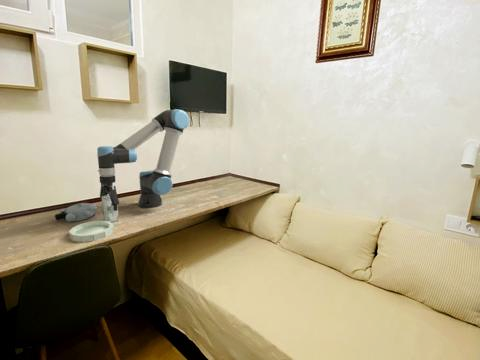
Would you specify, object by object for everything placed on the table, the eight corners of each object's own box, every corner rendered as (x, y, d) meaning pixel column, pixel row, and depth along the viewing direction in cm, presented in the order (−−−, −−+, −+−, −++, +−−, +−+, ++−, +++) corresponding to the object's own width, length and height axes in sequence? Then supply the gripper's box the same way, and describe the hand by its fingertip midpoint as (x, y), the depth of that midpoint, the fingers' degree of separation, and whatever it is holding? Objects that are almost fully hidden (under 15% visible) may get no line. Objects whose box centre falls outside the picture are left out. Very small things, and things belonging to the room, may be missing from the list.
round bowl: (105, 223, 136) (104, 218, 136) (119, 233, 124) (119, 227, 124) (65, 233, 123) (65, 227, 122) (77, 245, 111) (76, 239, 110)
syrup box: (114, 218, 144) (111, 193, 141) (118, 220, 141) (116, 195, 138) (103, 220, 140) (101, 195, 137) (108, 223, 136) (106, 197, 133)
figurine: (91, 209, 156) (53, 221, 142) (88, 197, 153) (49, 207, 139) (102, 216, 145) (62, 230, 131) (99, 203, 142) (58, 215, 128)
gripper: (91, 172, 140) (94, 209, 145) (109, 180, 124) (112, 220, 128) (105, 171, 146) (108, 206, 150) (124, 178, 129) (127, 217, 134)
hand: (110, 213), depth 139 cm, fingers open, 13 cm apart
